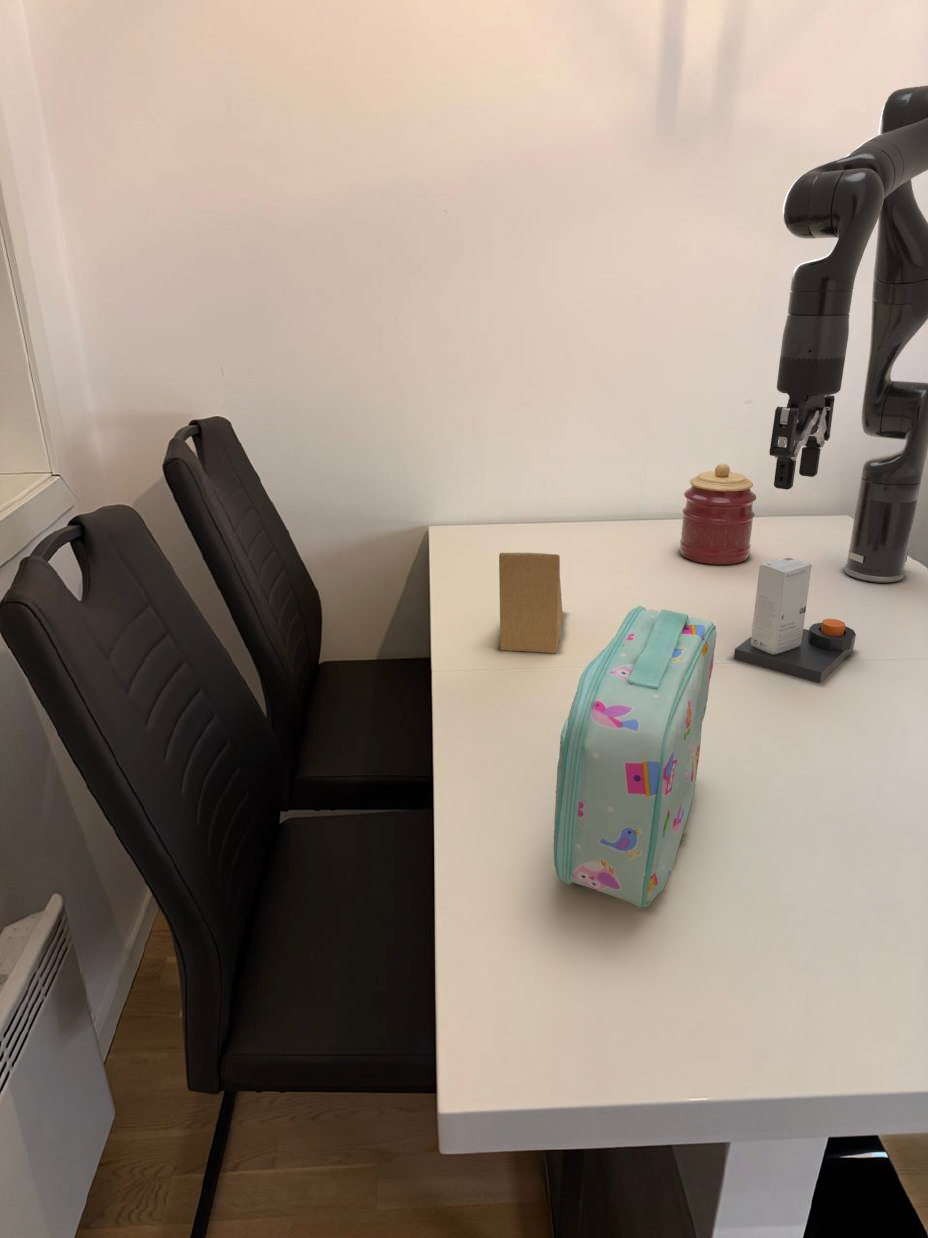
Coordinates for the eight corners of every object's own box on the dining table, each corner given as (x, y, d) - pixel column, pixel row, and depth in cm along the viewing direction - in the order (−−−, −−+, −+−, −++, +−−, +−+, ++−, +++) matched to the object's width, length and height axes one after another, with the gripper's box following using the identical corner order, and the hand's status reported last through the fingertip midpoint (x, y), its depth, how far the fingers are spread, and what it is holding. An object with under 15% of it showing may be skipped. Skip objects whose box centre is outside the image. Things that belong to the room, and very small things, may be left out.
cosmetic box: (774, 656, 115) (786, 572, 110) (747, 645, 118) (757, 564, 114) (802, 645, 118) (815, 563, 113) (776, 635, 121) (786, 555, 117)
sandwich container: (564, 613, 135) (567, 523, 129) (557, 653, 121) (560, 554, 115) (511, 611, 136) (512, 521, 130) (498, 650, 122) (498, 552, 117)
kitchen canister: (757, 551, 162) (768, 460, 156) (738, 570, 152) (749, 474, 146) (691, 541, 169) (699, 453, 162) (669, 559, 159) (676, 466, 152)
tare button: (825, 627, 120) (826, 616, 120) (846, 632, 118) (848, 622, 118) (817, 633, 118) (819, 623, 117) (839, 638, 116) (841, 628, 116)
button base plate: (771, 630, 127) (774, 608, 126) (857, 651, 120) (861, 629, 118) (733, 659, 118) (736, 637, 117) (823, 685, 110) (827, 661, 109)
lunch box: (612, 752, 96) (622, 576, 88) (704, 770, 92) (724, 588, 84) (540, 904, 73) (545, 686, 65) (659, 936, 69) (680, 709, 61)
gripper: (823, 359, 96) (804, 497, 103) (863, 349, 106) (843, 475, 112) (759, 356, 101) (745, 488, 107) (804, 346, 111) (788, 468, 117)
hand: (795, 481), depth 110 cm, fingers open, 8 cm apart
